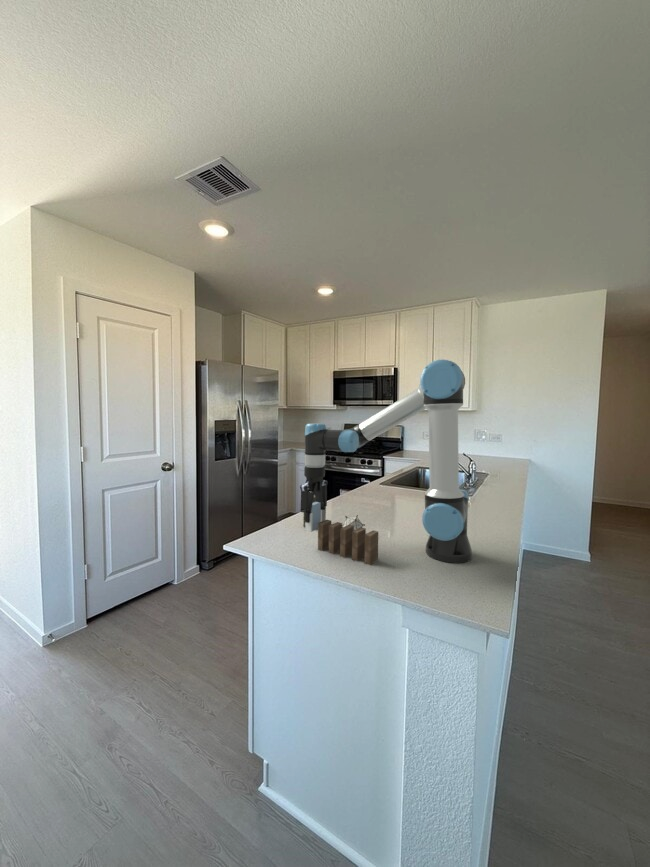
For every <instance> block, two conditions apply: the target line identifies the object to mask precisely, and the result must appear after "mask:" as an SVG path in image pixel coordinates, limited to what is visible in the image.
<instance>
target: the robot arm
mask: <svg viewBox="0 0 650 867" xmlns="http://www.w3.org/2000/svg"><path fill="white" fill-rule="evenodd" d="M419 377H420V378H419V381H420V382H419V384H418V388H417V389H415V390H413V391H412V392H410V393H408V394H406V395H405V396H403V397H402V398H401V397H400V399H398V400H396V401H395V402H393V403H391V404H389V405H388V406H386V407H384V408H383V409H381V410H380V411H378V412H377V413H374V414H373V415H371V416H370V417H368V418H366V419H364V420H363V421H361V422H359V423H358V424H357V425H355V426H353V427H351V428H348V429H327V425H326V424H325V423H318V422H317V423H316V422H315V423H306V425H305V427H304V428H305V429H304V430H305V431H304V465H305V466H304V468H303V469H304V474H303V475H304V477H305V478H306V479H305V483H304V484H301V485H299V488H300V512H301V513H303V514H304V513H305V527H304V531H306V532H310V533H311V532H313V531H312V514H313V513H311V509H312V504H313V498H314V495H315V498H316V502H320V503H321V510H320V522H322V517H323V510H325V509H326V510H327V506H328V499H327V498H328V484H329V481H328V480H325V479H324V478H325V476H326V467H325V465H326V451H332V452H342V453H354V452H356V451H357V449H360V448H362V447H363V446H364V445H366V444H367V443H369V442H370V441H372V440H373V439H375V438H376V437H379V436H381V435H382V434H384V433H385V432H388V431H390V430H391V429H393V428H394V427H396V426H398V425H400V424H402V423H404V422H405V421H407V420H409V419H410V418H413V417H414V416H416V415H418V414H420V413H421V412H423V411H425V410H427V412H428V460H429V461H428V464H429V465H428V466H429V467H428V468H429V469H428V470H429V472H428V473H429V488H428V489H427V490H426V491H425V492H424V511H423V513H422V525H423V528H424V530H425V531H426V533H427V534H428V535H429V536H428V538H427V542H426V545H425V553H426V555H427V556H429V557H430V558H432V559H434V560H436V561H441V562H445V563H450V564H451V563H452V564H453V563H454V564H455V563H456V564H460V563H467V562H469V561H471V560H472V557H473V551H472V547H471V544H470V540H469V537H468V517H469V515H468V512H469V511H468V510H469V509H468V508H469V500H470V498H469V493H468V492H467V490H465V489H460V487H459V486H460V484H459V483H460V482H459V481H460V480H459V479H460V477H459V476H460V475H459V474H460V473H459V472H460V470H459V468H460V467H459V410H460V408H462V407H463V405H464V389H465V385H466V376H465V374H464V372H463V371H462V370H461V367H460V366H459V365H458V364H457V363H456V362H454V361H453V360H448V359H436V360H434V361H432V362H429V363H428V364H427V365H426V366H425V367H424V368H423V370H422V371H421V374H420V376H419ZM323 502H324V503H323ZM325 507H326V508H325Z"/></svg>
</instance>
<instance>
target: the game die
mask: <svg viewBox="0 0 650 867" xmlns="http://www.w3.org/2000/svg"><path fill="white" fill-rule="evenodd" d="M344 516H345V521H344V523H343V524H342V528H343V527H345V526H347V525H352V526H354V530H356V529H358V528H360V527H361V528H364V526H366V524H364V523H362V522H361V520H360V519H359V517H358V514H357V515H356V516H352V517H351V516H349V517H348V516H347V515H344Z"/></svg>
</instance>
